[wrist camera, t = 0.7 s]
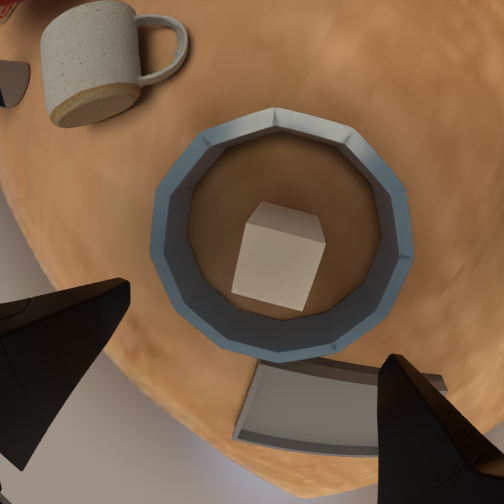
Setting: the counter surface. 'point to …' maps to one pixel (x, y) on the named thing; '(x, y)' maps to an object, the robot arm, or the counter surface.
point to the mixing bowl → (8, 2)
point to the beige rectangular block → (279, 256)
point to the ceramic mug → (98, 61)
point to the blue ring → (257, 326)
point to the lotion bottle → (12, 82)
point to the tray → (314, 407)
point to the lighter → (6, 11)
